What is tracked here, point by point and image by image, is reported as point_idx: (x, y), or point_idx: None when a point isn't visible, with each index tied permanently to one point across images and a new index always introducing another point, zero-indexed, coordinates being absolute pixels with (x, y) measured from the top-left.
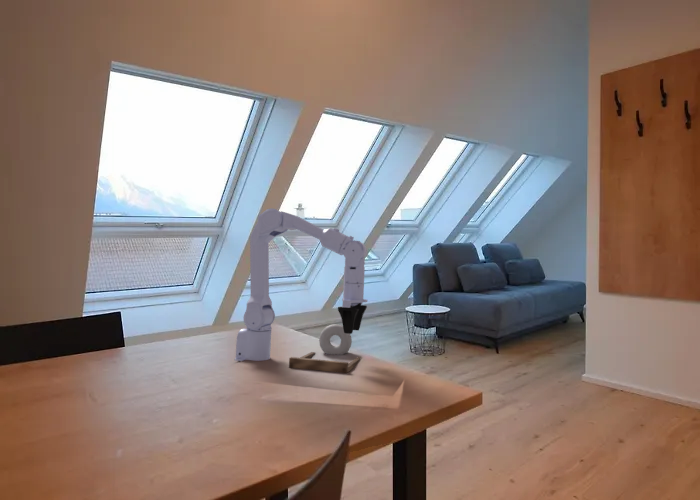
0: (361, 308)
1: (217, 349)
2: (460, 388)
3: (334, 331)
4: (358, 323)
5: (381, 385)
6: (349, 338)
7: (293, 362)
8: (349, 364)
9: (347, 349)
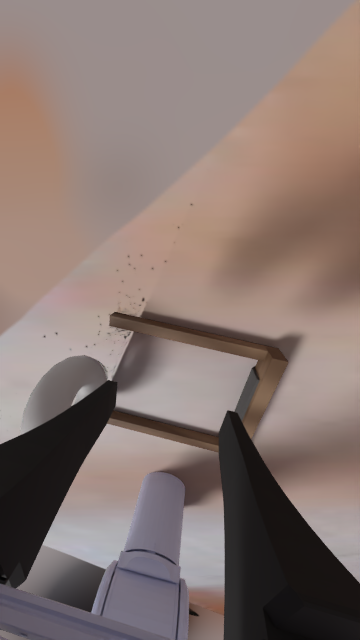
0: (15, 508)
1: (118, 525)
2: None
3: None
4: (98, 408)
5: None
6: (68, 377)
7: None
8: (228, 348)
9: (90, 360)
